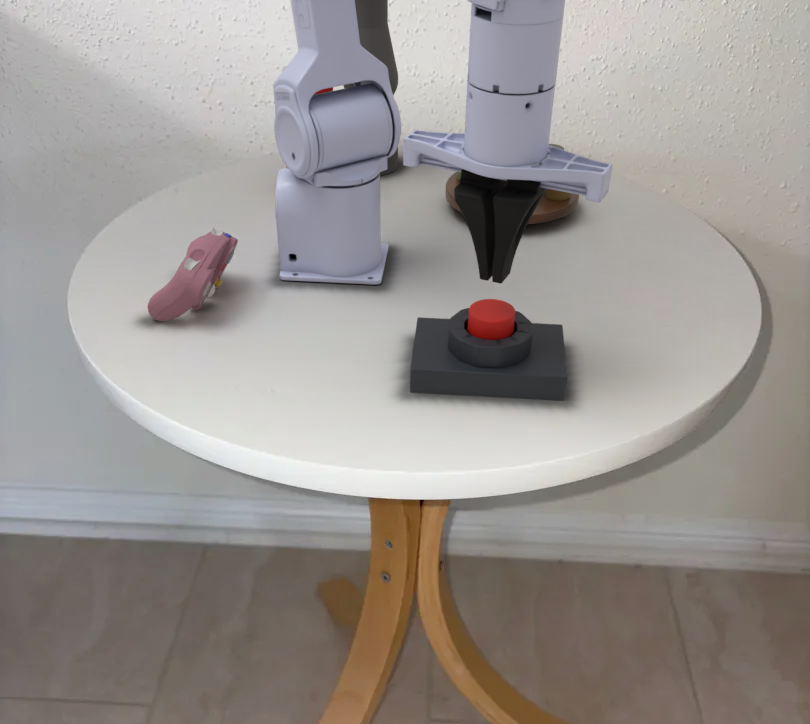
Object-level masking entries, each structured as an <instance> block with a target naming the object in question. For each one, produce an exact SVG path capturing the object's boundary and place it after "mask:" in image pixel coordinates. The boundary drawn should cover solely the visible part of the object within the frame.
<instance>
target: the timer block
mask: <svg viewBox="0 0 810 724" xmlns="http://www.w3.org/2000/svg"><path fill="white" fill-rule="evenodd" d="M468 314H469V307H467V308H463V309H460V310H459V311H458V312H456V313H455V314H454V315H452V316H451V317H450V318H439V317H438V318H436V317H419V316H418V317H417V318H416V325H415V326H416V327H415V332H414V339H413V340H414V341H413V347H412V355H411V362H410V368H409V393H413V394H429V395H430V394H431V395H432V394H433V395H448V396H469V397H470V396H471V397H485V398H487V397H488V398H504V399H505V398H506V399H520V400H521V399H523V400H539V401H540V400H542V401H556V402H557V401H559V402H563V401H564V400H565V395H566V387H567V382H568V373H567V360H566V349H565V338H564V327H563V326H564V325H563V324H556V323H538V322H532V321H531V320H530V319H529V318H528V317H527V316H525V315H524V314H523V313H522V312H521V311H517V310H515V321H514V331H513V334H512V335H511V336H510V337H508V338H504V339H500V340H484V339H481V338H478V337H475V336H472V335H471V334H470V333H469V332H468Z"/></svg>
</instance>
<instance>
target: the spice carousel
mask: <svg viewBox="0 0 810 724" xmlns="http://www.w3.org/2000/svg"><path fill="white" fill-rule="evenodd" d="M548 145H550V146H553V147H556V148H559V149H562V150H565V147H564V146H562V145H560V144H557V143H549V144H548ZM460 179H461V172H457V171H455V172H454V173H453V174H452V175H450V177H448V179H447V180H446V183H445V198H446V200H447V201H446V202H447V203H448V204H449V205H450V206H451V208H453V209H455V210H456V211H458V212H460V213H461V214H462V212H461V210H460V208H459V207H458V205H457V203H456V201H455V198H454V189H455V187H456V186H457V185H458V184H459V181H460ZM579 199H580V195H579V194H573V193H568V192H563V191H557V190H552V189H547V191H546V192H545V194H544V195H543V197H542V199H541V200H540V202H539V204H538V205H537V207H536V209H535V211H534V212H533V214H532V216H531V218H530V220H529V222H528V224H527V225H536V224H542V223H548V222H552V221H556V220H558V219H561V218H564V217H565V216H568V215H569V214H571V213H572V212H573V211H575V209H576V208H577V206H578V205H579V204H578V203H579Z"/></svg>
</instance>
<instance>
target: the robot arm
mask: <svg viewBox="0 0 810 724" xmlns="http://www.w3.org/2000/svg"><path fill="white" fill-rule="evenodd" d="M289 1H290V7H291V11H292V12H291V13H292V18H293V25H294V31H295V38H296V42H297V43H296V44H297V52H296V53H295V55H294V56H293V58H292V59H291V61H290V62H288V64H287V65H286V66H287V67H286V68H285V69H284V70H283V72H282V71H281V72H280V74H279V75H278V77H277V78H276V79H275V81H274V82H273V84H272V87H273V98H274V123H273V131H274V138H275V139H274V140H275V144H276V147H277V150H278V153H279V156H280V158H281V160H282V162H283V163H284V165H285V167H283V168H282V167H281V168H280V169H279V171H278V173H277V176H276V181H275V190H274V208H275V209H274V210H275V211H274V212H275V225H276V235H277V245H278V246H277V247H278V258H279V268H280V270H279V271H280V272H279V275H278V276H279V279H280V280H281V281H292V282H311V283H312V282H313V283H314V282H315V283H331V284H332V283H334V284H353V285H356V284H357V285H358V284H359V285H377V286H378V285H380V284H382V281H383V277H384V271H385V266H386V262H387V256H388V253H389V243H387V242H382V239H381V238H382V235H381V234H382V231H381V229H382V227H381V225H382V224H381V223H382V222H381V213H382V212H381V175H380V172H382V171H384V170H387V158H388V157H391V156H392V155H393V154H394V153H395V152H396V150H397V148H398V149H399V144H400V141H401V137H402V136H401V135H402V119H401V113H400V108H399V106H398V104H397V101H396V99H395V96H394V95H393V93H392V90H391V86H390V81H389V74H388V68H387V67H386V65H385V64H383V63H382V62H381V61H380V60H378V59H377V58H376V57H375V56H373V55H372V54H371V53H369V52H368V51H367V50H366V49H364V48H363V47H362V46H361V44H360V39H359V31H358V23H357V15H356V7H355V0H289ZM467 2H468V3H470V4H471V5H470V6H471V7H470V24H469V25H470V26H469V28H470V29H469V41H468V42H469V43H468V63H467V80H466V83H467V84H466V99H465V116H464V117H465V118H464V132H445V131H431V130H430V131H429V130H422V129H417V128H416V129H414V130H413V131H411V132H410V133H408V134H407V135H406V136H404V137H403V150H402V151H403V154H402V156H403V158H402V159H403V161H402V164H403V166H404V167H405V166H406V167H410V168H419V167H420V166H425V167H431V168H436V169H441V170H446V171H452V172H461V179H460V181H459V184H458V185H457V186H456V187H455V189H454V198H455V201H456V203H457V205H458V207H459V208H460V210H461V212H462V213H461V212H460V213H461V215H462V216H463V219H464V220H465V223H466V226H467V228H468V231H469V234H470V237H471V240H472V244H473V248H474V251H475V256H476V261H477V268H478V275H479V279H480V280H482V281H489V280H490V279H491V281H492V283H494V284H495V283H496V284H503V283H504V281H505V280H506V279H507V278H508V276H509V275H510V274H511V271H512V267H513V262H514V259H515V256H516V253H517V250H518V247H519V244H520V242H521V239H522V237H523V234H524V232H525V230H526V228H527V226H528V225H529V224H528V222H529V220H530V218H531V216H532V214H533V212H534V211H535V209H536V207H537V205H538V204H539V202H540V200H541V199H542V197H543V195H544V194H545V192H546V191H547V189H552V190H557V191H563V192H568V193H573V194H579V196H584V197H585V200H586V201H589V202H594V203H598V204H599V203H602V201H603V200H604V198H606V196H607V195H608V193H609V189H610V184H611V179H612V178H611V177H612V172H613V171H612V170H613V163H609V162H603V161H599V160H596V159H593V158H592V159H591V158H588V157H585V156H583V155H580V154H577V153H575V152H574V153H573V152H571V151H568V150H565V149H564V150H562V149H559V148H556V147H553V146H550V145H548V144H550V136H551V135H550V134H551V125H552V117H553V108H554V99H555V91H556V82H557V75H558V66H559V58H560V49H561V41H562V40H561V39H562V38H561V37H562V33H563V32H562V31H563V22H564V16H565V15H564V14H565V6H566V5H565V4H566V0H467ZM351 83H353V84H354V87H349V88H345V89H344V88H340V89H336V90H333V91H330V92H325V93H320V94H315V93H316V92H318V91H320V90H322V89H327V88H331V87H333V88H335V87H341V86H343V85H346V84H351ZM314 94H315V95H314ZM286 166H287V168H286Z"/></svg>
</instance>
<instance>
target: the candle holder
mask: <svg viewBox="0 0 810 724" xmlns="http://www.w3.org/2000/svg"><path fill="white" fill-rule="evenodd" d="M388 4H389V0H355V7H356V15H357V23H358V31H359V39H360V44H361V46H362V47H363V48H364V49H366V50H367V51H368V52H369V53H371V54H372V55H373V56H375V57H376V58H377V59H378V60H380V61H381V62H382V63H383V64H385V65H386V67H387V68H388V74H389V81H390V86H391V90H392V93H393V96H394V95H395V94H396V92H397V89H398V85H399V71H398V66H397V61H396V58H395V53H394V46H393V43H392V42H393V41H392V38H391V32H390V28H389V27H390V26H389V8H388V7H389V5H388ZM342 87H343V89H345V88H349V87H354V84H353V83H351V84H346V85H342ZM398 168H399V147H398V148H397V150H396V152H395V153H394V154H393V155H392V156H391V157H388V158H387V170H384V171H382V172H380V176H386V175H388V174H391V173H395V172H396V170H397V169H398Z"/></svg>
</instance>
